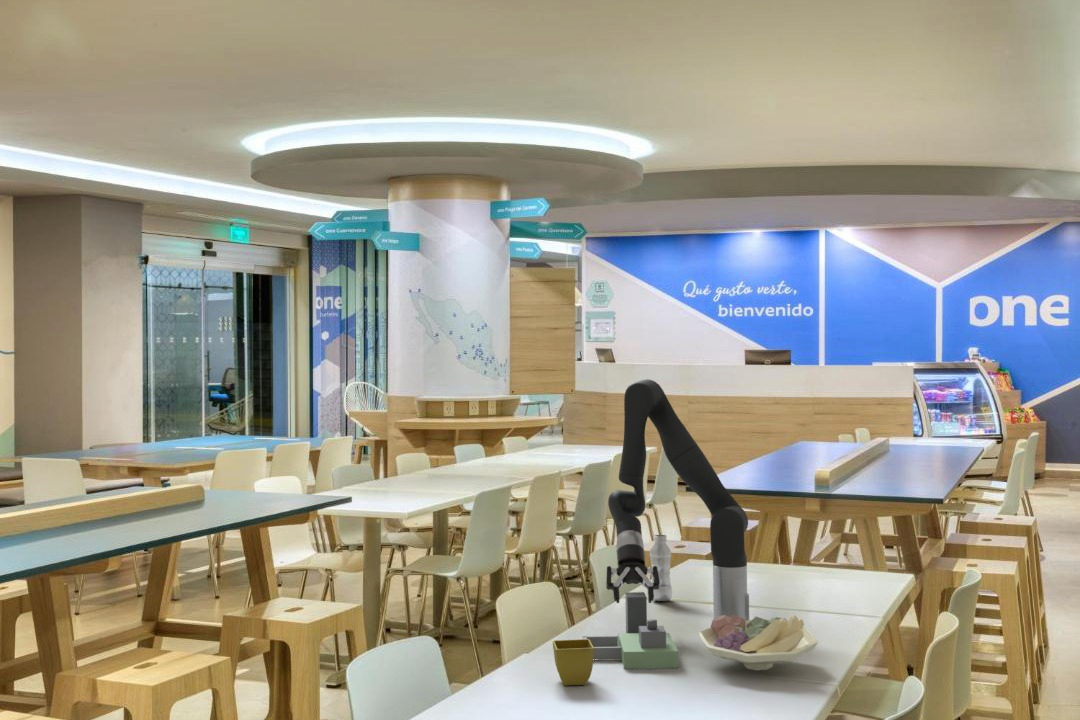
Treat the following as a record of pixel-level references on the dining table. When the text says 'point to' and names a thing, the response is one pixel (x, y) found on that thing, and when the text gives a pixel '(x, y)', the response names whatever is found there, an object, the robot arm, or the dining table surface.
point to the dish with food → (758, 640)
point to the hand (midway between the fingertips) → (634, 601)
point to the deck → (638, 647)
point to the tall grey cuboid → (635, 611)
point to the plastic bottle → (661, 567)
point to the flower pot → (573, 660)
